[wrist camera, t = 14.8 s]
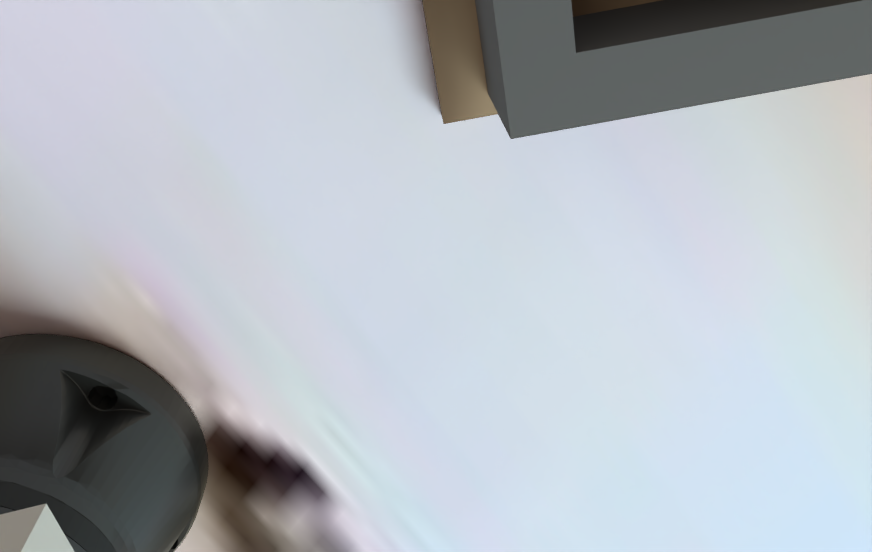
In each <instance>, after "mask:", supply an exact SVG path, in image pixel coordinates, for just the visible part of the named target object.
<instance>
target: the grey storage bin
mask: <svg viewBox="0 0 872 552" xmlns="http://www.w3.org/2000/svg"><path fill="white" fill-rule="evenodd" d="M475 5H476V12H477V19H478V26H479V33H480V41H481V48H482V55H483V62H484V69H485V76H486V83H487V90H488V95H489V97H490V99H491V101H492V103H493V105H494V107H495V109H496V111H497V113H498V115H499V117H500V118H501V120H502V122H503V124H504V126H505V128H506V130H507V132H508V134H509V136H510V138H511V139H514V138H519V137H525V136H530V135H536V134H541V133H547V132H552V131H558V130H563V129H569V128H574V127H580V126H586V125H591V124H597V123H602V122H608V121H613V120H619V119H624V118H630V117H635V116H641V115H646V114H652V113H657V112H663V111H668V110H674V109H679V108H685V107H691V106H696V105H702V104H707V103H713V102H718V101H724V100H729V99H735V98H740V97H746V96H751V95H757V94H762V93H768V92H773V91H779V90H784V89H790V88H796V87H801V86H807V85H812V84H818V83H823V82H829V81H834V80H840V79H845V78H851V77H856V76H862V75H867V74H872V0H661V1H656V2H650V3H645V4H640V5H634V6H629V7H623V8H618V9H613V10H607V11H602V12H596V13H591V14H585V15H580V16H575V17H573V14H572V3H571V0H475Z"/></svg>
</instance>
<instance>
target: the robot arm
mask: <svg viewBox="0 0 872 552" xmlns="http://www.w3.org/2000/svg"><path fill="white" fill-rule="evenodd" d="M207 477H208V454H207V448H206V443H205V440H204V436H203V433H202V431H201V429H200V426H199V424H198V422H197V420H196V418H195V416H194V415H193V413H192V411H191V410H190V408H189V407H188V405H187V404H186V403H185V401H184V400H183V399H182V398H181V397H180V395H179V394H178V393H177V392H176V391H175V390H174V389H173V388H172V387H171V386H170V385H169V384H168V383H167V382H166V381H165V380H163V379H162V378H161V377H160V376H159V375H157V374H156V373H155V372H153V371H152V370H151V369H149V368H148V367H146V366H145V365H143V364H142V363H140V362H138V361H136V360H135V359H133V358H131V357H129V356H127V355H125V354H123V353H121V352H119V351H116V350H114V349H112V348H109V347H106V346H103V345H101V344H97V343H94V342H91V341H87V340H83V339H79V338H73V337H68V336H60V335H48V334H28V335H17V336H10V337H4V338H0V552H174V551H175V550H176V549H177V548H178V547H179V545H180V544H181V543H182V541H183V540H184V539H185V537H186V535H187V534H188V532H189V530H190V528H191V527H192V525H193V522H194V520H195V518H196V515H197V512H198V509H199V506H200V503H201V500H202V497H203V493H204V490H205V487H206V483H207Z"/></svg>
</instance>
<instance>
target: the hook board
mask: <svg viewBox="0 0 872 552" xmlns="http://www.w3.org/2000/svg"><path fill="white" fill-rule="evenodd" d="M656 1H661V0H571V3H572V14H573V17H575V16H580V15H585V14H591V13H596V12H602V11H607V10H613V9H618V8H623V7H629V6H634V5H640V4H645V3H650V2H656ZM422 2H423V8H424V14H425V20H426V26H427V32H428V38H429V44H430V50H431V55H432V61H433V67H434V73H435V79H436V85H437V91H438V97H439V103H440V108H441V114H442V119H443V123H444V124H446V123H451V122H457V121H462V120H468V119H473V118H479V117H484V116H490V115H495V114H498V113H497V111H496V109H495V107H494V105H493V103H492V101H491V99H490V97H489V95H488V90H487V83H486V76H485V69H484V62H483V55H482V48H481V41H480V33H479V26H478V19H477V12H476V5H475V0H422Z"/></svg>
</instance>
